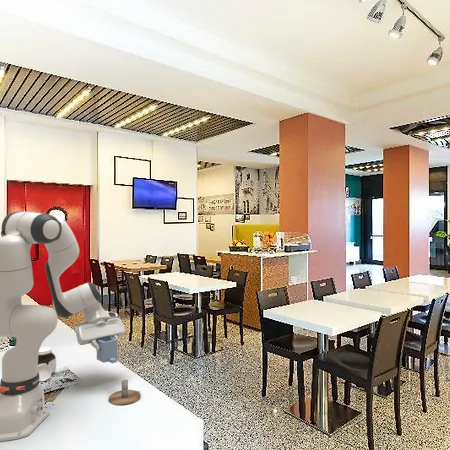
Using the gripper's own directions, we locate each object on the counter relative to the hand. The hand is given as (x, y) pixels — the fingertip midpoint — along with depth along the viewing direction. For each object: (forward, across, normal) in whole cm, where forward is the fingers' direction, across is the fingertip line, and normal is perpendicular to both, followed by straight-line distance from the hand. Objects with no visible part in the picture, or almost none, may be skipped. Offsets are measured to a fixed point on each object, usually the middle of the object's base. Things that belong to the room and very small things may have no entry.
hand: (107, 348), depth 156 cm
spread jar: (-11, -14, +34) cm, 38 cm away
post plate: (+20, 0, +3) cm, 21 cm away
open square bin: (+4, 0, +3) cm, 5 cm away
